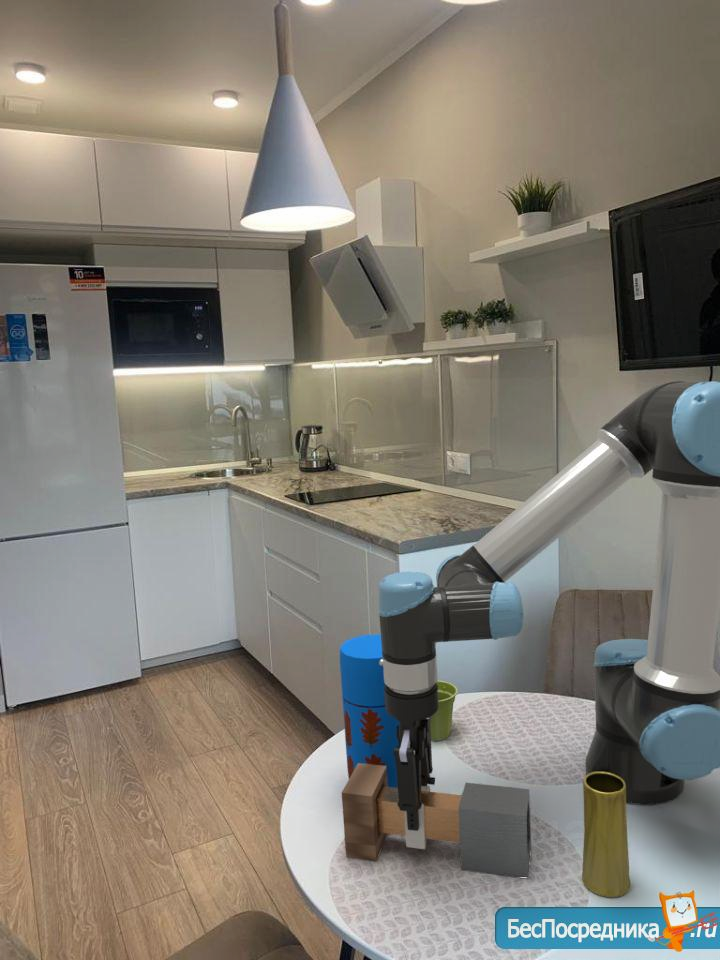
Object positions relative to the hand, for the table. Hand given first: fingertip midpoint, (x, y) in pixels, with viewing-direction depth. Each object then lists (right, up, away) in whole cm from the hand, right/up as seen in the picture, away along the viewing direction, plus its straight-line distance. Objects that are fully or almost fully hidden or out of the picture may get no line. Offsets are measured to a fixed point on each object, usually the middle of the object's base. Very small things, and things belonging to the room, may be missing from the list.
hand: (419, 836), depth 105 cm
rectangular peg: (+2, +1, -1) cm, 3 cm away
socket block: (-7, -2, +3) cm, 8 cm away
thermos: (-5, 0, +16) cm, 17 cm away
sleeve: (+11, -2, -3) cm, 11 cm away
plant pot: (+6, +3, +33) cm, 34 cm away
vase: (+24, -2, -9) cm, 26 cm away
